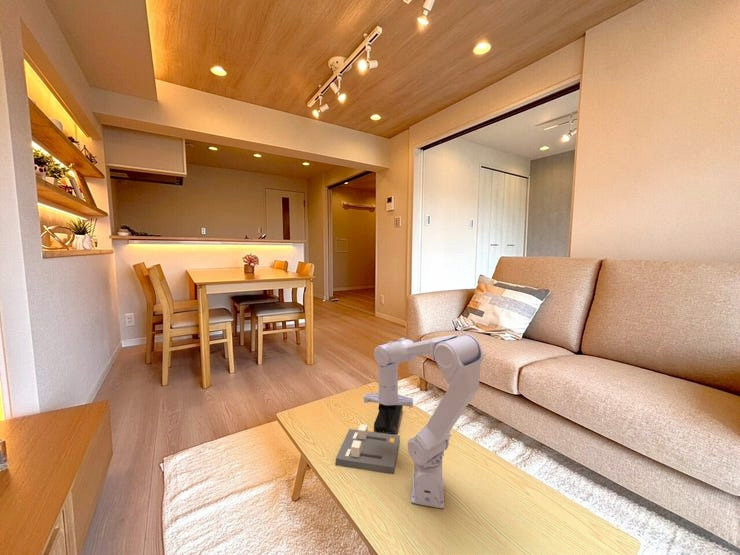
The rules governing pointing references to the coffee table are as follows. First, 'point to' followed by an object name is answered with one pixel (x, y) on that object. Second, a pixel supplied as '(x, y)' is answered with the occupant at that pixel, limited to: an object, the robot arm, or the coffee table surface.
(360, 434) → the block
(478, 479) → the coffee table surface
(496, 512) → the coffee table surface
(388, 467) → the grey flat block
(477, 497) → the coffee table surface
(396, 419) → the black sponge
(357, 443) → the block
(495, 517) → the coffee table surface
